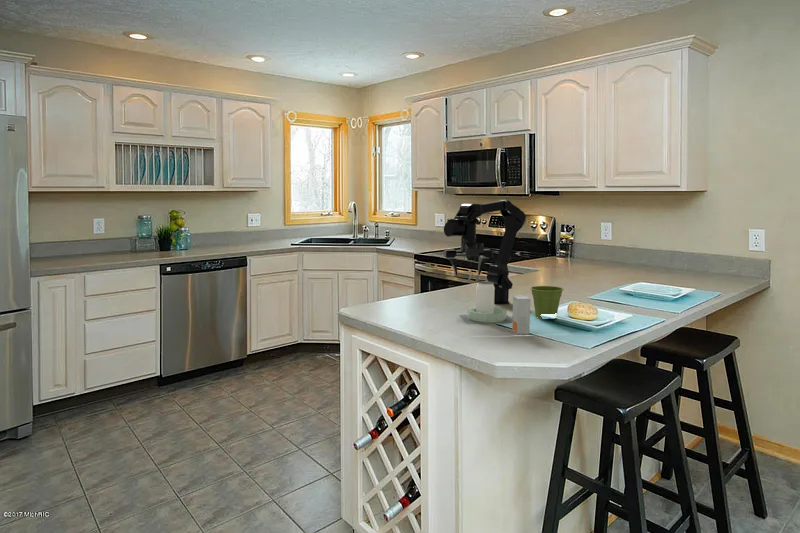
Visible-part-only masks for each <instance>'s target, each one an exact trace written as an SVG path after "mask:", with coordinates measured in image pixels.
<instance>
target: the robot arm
mask: <svg viewBox="0 0 800 533" xmlns="http://www.w3.org/2000/svg"><path fill="white" fill-rule="evenodd" d="M493 212H500V216H502V217H503V226H504V233H503V235H502V238H501V239H502V240H501V242H500V246H499V249H498V253H497V257H496V260H495V262H494V263H493V264H489V266H488V267H487V268H488V269H487V272H486V273H485V274H486V281H488V282H493V285H494V288H495V290H494V305H495V304H496V305H498V304H500V305H501V304H503V305H504V304H510V303H511V302H510V301H509V295H510V294H509V293H510V289H512V290H513V282H512V281H511V280H510V278H509V274H510V273H509V267H508V264H509V261H510V258H511V254H512V250H513V247H514V243H515V240H516V237H517V233H518V232H519V231H520V230H521V229H522V228H523V226H524V224H525V221H526V218H527V215H526V213H525V212H524V211H523V210H521V208H520V207H518V206H516V205H514V204H513V203H512V202H511V200H508V199H499V200H495V201H488V202H483V203H462V204H461V205H460V206H459V209H458V211H457V212H456V215H455V216H454V217H453V218H447V220H446V222H445V223H444V226H443V233H444V235H445V236H446V237H448V238H449V237H460V250H458V251H457V250H456V249H452V248H451V249H447V248H445V249H444V250H443V257H445V258H446V259H447V260H449V261H450V263H451V266H452V268H453V272H454V275H455V276H458V262H457V261H458V258H457V257H460V256H461V257H465V256H466V257H478V261H477V262H478V267H477V275H478V276H480V275H481V273H482V270H483V267H484V266H485V263H486V262H487V261H488V260H490V258H494V251H493V250H492V249H489V248H484V247H485V244H484V243H481V242H480V243H477V225H480V224H481V221H480V220H478V218H479V217H482V215H484V214H487V213H493Z"/></svg>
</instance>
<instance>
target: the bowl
mask: <svg viewBox="0 0 800 533" xmlns="http://www.w3.org/2000/svg"><path fill="white" fill-rule="evenodd" d="M467 315H468V316H469V319H470V320H472V321H475V322H481V323H490V324H500V323H499V322H503V321H505V320H506V315H507V310H506V309H505V308H502V307H498V306H494V313H479V312H476V306H471V307H469V308H468V309H467Z"/></svg>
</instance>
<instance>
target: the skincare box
mask: <svg viewBox="0 0 800 533" xmlns="http://www.w3.org/2000/svg"><path fill="white" fill-rule="evenodd" d="M511 318H512V323H511V324H512V325H511V330H512V331H513V332H514V333H515V334H517V335H526V336H529V335H530V331H531V330H530V328H531V327H530V324H531V298H530V297H528V296H527V295H525V294H524V295H523V294H520V295H519V294H517V295H513V296H512V317H511Z"/></svg>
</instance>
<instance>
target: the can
mask: <svg viewBox="0 0 800 533" xmlns="http://www.w3.org/2000/svg"><path fill="white" fill-rule="evenodd" d="M475 287H476V291H475V292H476V295H475V307H476V312H479V313H494V307H495V304H494V290H495V288H494V285H493V282H488V280H486V281H483V280H482V281H478V282H477V285H476V286H475Z"/></svg>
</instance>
